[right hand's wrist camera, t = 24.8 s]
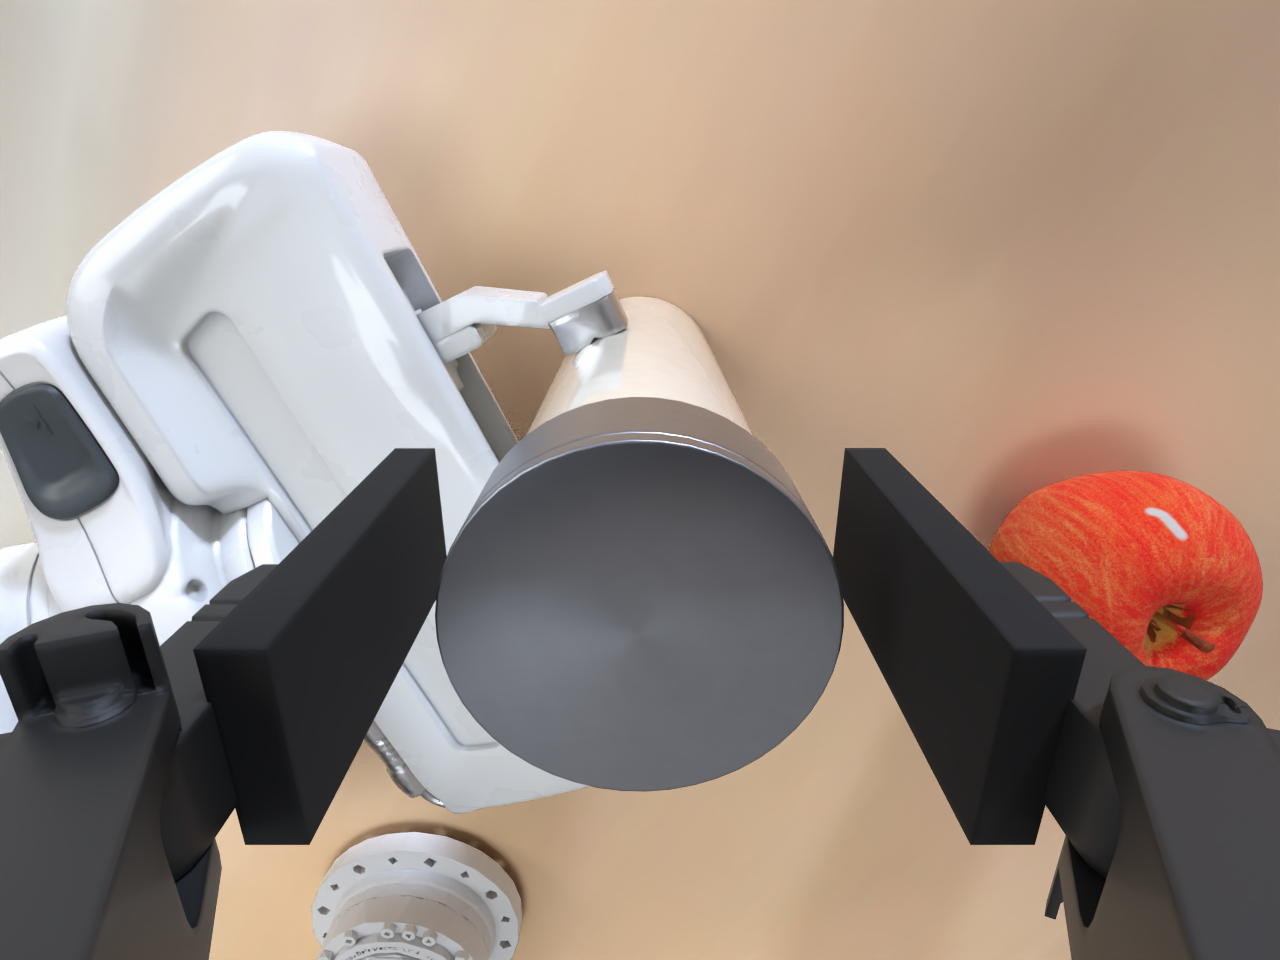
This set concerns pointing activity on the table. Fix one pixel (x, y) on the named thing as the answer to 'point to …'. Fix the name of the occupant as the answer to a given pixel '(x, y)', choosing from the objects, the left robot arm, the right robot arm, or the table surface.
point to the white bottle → (643, 366)
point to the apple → (1143, 563)
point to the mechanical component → (416, 902)
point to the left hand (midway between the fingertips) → (667, 407)
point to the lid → (639, 598)
